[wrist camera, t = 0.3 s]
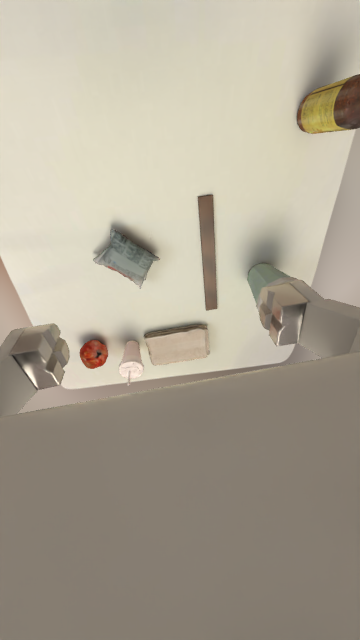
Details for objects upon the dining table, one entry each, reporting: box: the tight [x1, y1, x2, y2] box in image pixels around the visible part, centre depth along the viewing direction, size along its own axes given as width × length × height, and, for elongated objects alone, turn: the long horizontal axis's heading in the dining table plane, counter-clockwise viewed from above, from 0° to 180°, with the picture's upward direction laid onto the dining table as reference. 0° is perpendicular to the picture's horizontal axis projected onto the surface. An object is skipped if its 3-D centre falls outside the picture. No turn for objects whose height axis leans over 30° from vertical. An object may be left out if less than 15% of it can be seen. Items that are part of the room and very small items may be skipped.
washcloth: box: [144, 325, 210, 366], centre depth 72 cm, size 12×18×3 cm, turn 98°
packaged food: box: [93, 229, 160, 289], centre depth 54 cm, size 9×12×5 cm
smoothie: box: [119, 341, 144, 385], centre depth 66 cm, size 6×6×14 cm
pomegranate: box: [80, 340, 108, 369], centre depth 67 cm, size 7×7×10 cm
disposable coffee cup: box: [247, 263, 298, 312], centre depth 57 cm, size 11×11×15 cm
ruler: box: [198, 195, 217, 310], centre depth 59 cm, size 28×3×1 cm, turn 7°
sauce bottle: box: [297, 74, 360, 134], centre depth 37 cm, size 7×6×20 cm
